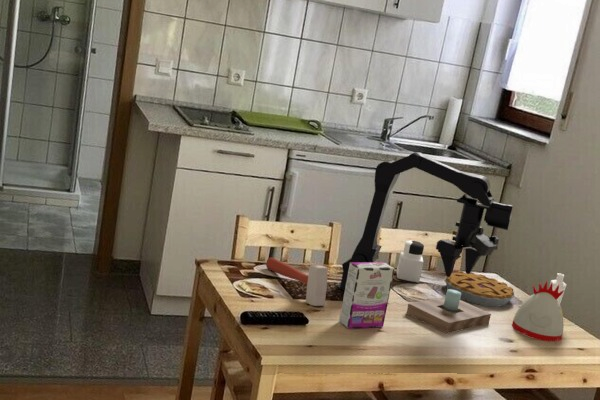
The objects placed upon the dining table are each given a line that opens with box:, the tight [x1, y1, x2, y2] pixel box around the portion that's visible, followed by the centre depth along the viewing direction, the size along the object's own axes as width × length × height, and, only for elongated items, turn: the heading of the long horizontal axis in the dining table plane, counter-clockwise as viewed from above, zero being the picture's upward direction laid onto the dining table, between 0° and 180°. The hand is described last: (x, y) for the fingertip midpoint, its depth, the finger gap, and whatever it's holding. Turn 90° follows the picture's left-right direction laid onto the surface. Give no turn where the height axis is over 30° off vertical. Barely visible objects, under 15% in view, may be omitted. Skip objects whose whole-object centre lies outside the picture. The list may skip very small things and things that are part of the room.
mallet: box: [265, 256, 329, 307], centre depth 216 cm, size 11×4×30 cm
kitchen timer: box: [511, 280, 565, 342], centre depth 215 cm, size 14×14×15 cm
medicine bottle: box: [396, 240, 425, 284], centre depth 244 cm, size 7×7×12 cm
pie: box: [444, 270, 516, 308], centre depth 240 cm, size 22×22×5 cm
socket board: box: [406, 296, 492, 334], centre depth 214 cm, size 20×14×3 cm
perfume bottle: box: [549, 272, 567, 305], centre depth 226 cm, size 5×4×15 cm
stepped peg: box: [443, 289, 461, 314], centre depth 213 cm, size 4×4×8 cm
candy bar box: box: [338, 261, 395, 330], centre depth 196 cm, size 11×5×16 cm, turn 117°
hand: (457, 275), depth 211 cm, fingers open, 9 cm apart
